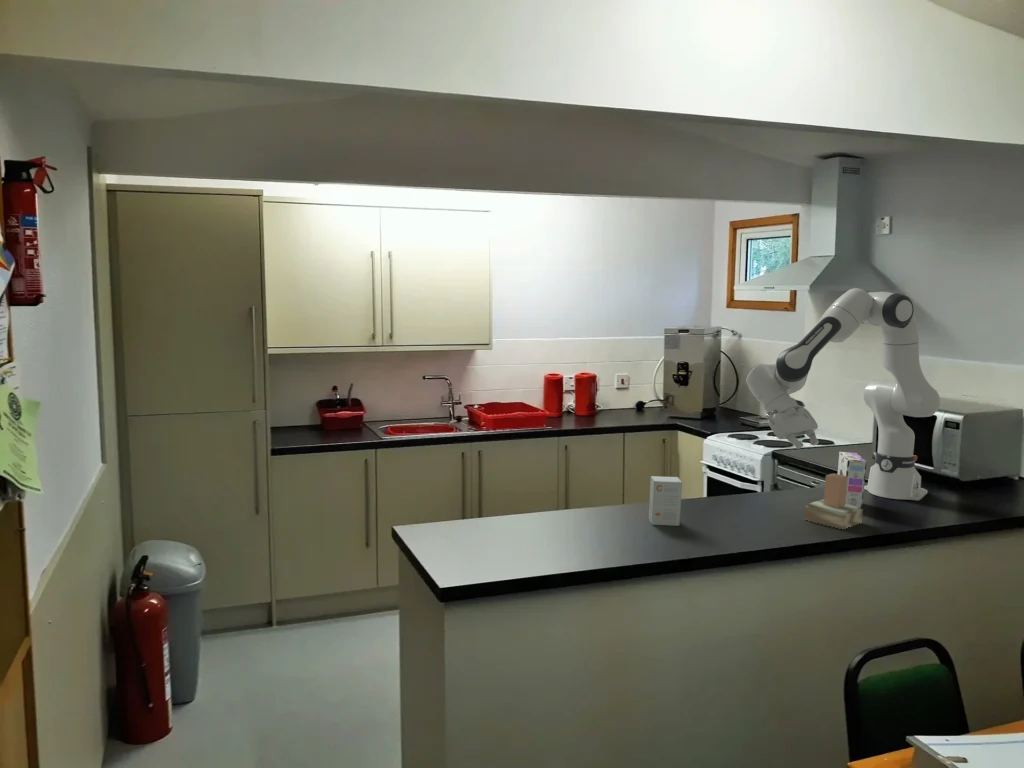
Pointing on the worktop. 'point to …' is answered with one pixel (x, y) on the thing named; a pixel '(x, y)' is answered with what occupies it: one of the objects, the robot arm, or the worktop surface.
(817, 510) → the birch plinth
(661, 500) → the small box
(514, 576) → the worktop surface
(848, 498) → the candy box
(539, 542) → the worktop surface
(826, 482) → the terracotta block
